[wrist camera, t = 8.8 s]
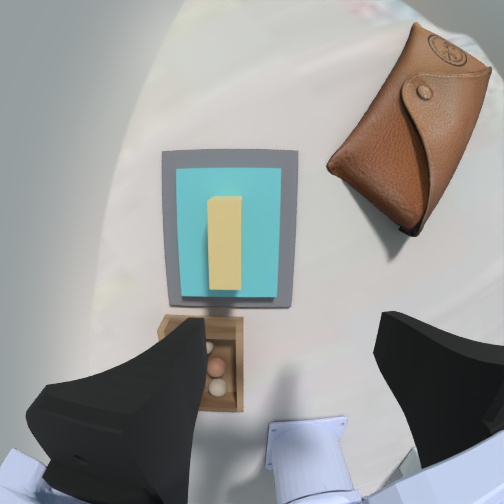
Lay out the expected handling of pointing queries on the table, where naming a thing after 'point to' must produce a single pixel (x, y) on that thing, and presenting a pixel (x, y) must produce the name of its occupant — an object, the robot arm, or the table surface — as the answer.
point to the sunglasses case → (415, 130)
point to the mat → (287, 218)
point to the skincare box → (410, 463)
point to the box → (218, 360)
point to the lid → (228, 231)
